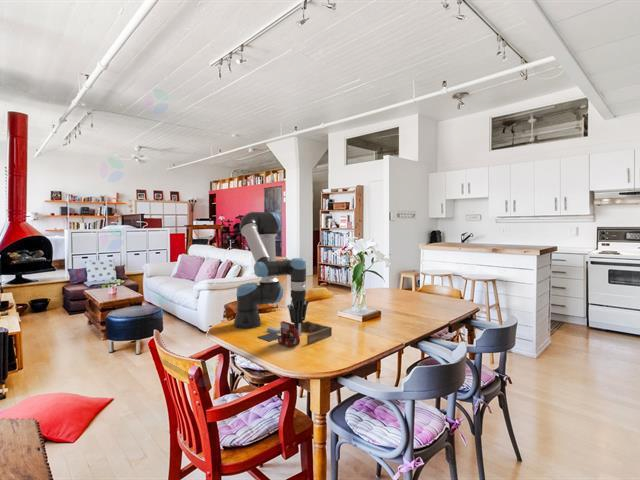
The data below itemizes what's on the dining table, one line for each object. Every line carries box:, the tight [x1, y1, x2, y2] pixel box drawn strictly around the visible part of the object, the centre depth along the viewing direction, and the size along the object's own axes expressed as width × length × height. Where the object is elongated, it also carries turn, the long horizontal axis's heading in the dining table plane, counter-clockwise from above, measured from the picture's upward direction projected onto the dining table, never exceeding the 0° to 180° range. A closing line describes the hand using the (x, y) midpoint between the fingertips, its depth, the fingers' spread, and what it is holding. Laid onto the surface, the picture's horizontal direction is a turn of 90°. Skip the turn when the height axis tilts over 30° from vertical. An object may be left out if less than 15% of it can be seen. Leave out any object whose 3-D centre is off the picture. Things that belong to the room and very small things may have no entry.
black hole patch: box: [257, 332, 280, 342], centre depth 184 cm, size 9×9×1 cm
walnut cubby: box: [301, 320, 333, 345], centre depth 186 cm, size 17×17×4 cm
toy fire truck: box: [277, 320, 301, 348], centre depth 174 cm, size 7×12×10 cm, turn 44°
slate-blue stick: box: [266, 326, 281, 335], centre depth 193 cm, size 8×2×2 cm, turn 48°
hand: (298, 335), depth 180 cm, fingers closed
